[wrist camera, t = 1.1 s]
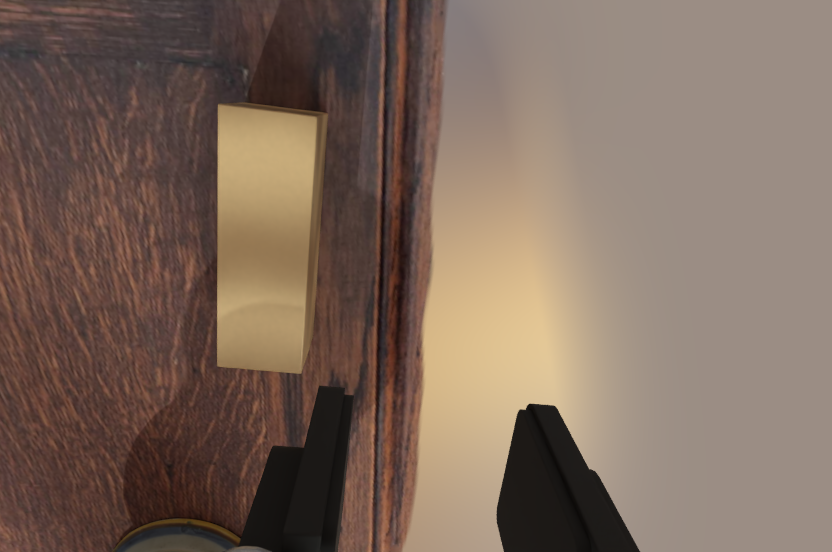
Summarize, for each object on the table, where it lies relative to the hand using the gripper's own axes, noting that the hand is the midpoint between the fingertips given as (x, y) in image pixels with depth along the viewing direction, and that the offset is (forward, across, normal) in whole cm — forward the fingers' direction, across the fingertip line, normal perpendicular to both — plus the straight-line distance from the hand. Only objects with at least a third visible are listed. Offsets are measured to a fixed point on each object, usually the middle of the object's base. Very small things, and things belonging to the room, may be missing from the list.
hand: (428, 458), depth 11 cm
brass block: (+17, +6, 0) cm, 18 cm away
